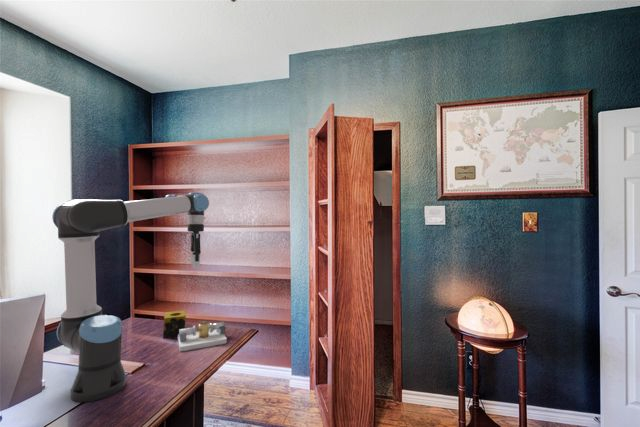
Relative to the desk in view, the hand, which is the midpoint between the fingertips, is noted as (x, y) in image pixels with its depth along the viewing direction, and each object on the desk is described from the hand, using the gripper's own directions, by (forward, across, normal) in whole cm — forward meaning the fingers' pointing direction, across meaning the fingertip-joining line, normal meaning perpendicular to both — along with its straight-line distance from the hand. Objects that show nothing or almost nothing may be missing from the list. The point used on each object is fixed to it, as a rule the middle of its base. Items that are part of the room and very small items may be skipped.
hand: (194, 266), depth 148 cm
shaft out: (+33, -7, -10) cm, 35 cm away
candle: (+35, +8, +8) cm, 37 cm away
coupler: (+33, -8, -4) cm, 34 cm away
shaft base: (+35, -8, -3) cm, 36 cm away
